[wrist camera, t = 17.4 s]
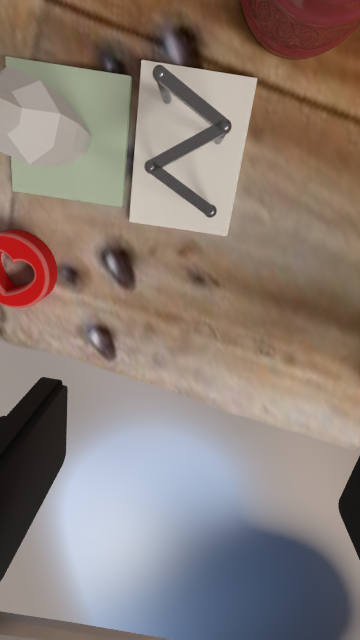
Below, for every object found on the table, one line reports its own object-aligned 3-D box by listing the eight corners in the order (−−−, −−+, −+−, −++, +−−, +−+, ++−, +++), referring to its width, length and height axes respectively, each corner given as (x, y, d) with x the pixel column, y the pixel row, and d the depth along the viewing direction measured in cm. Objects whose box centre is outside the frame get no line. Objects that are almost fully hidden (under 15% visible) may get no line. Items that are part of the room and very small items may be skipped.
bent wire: (229, 102, 34) (241, 75, 26) (211, 212, 38) (215, 219, 30) (162, 91, 34) (152, 61, 26) (150, 203, 38) (139, 207, 30)
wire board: (255, 81, 34) (257, 78, 33) (226, 235, 40) (227, 236, 39) (142, 63, 34) (141, 59, 33) (130, 220, 40) (129, 221, 39)
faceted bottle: (30, 141, 36) (-181, 79, 16) (61, 90, 34) (-134, -58, 14) (77, 182, 37) (-61, 174, 17) (109, 134, 35) (-3, 62, 15)
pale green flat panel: (132, 78, 34) (130, 75, 33) (123, 207, 39) (121, 207, 38) (10, 59, 34) (5, 56, 33) (16, 190, 39) (12, 190, 38)
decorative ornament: (-7, 299, 45) (-21, 307, 42) (-21, 228, 41) (-38, 231, 38) (61, 302, 45) (52, 310, 42) (53, 230, 41) (42, 234, 38)
